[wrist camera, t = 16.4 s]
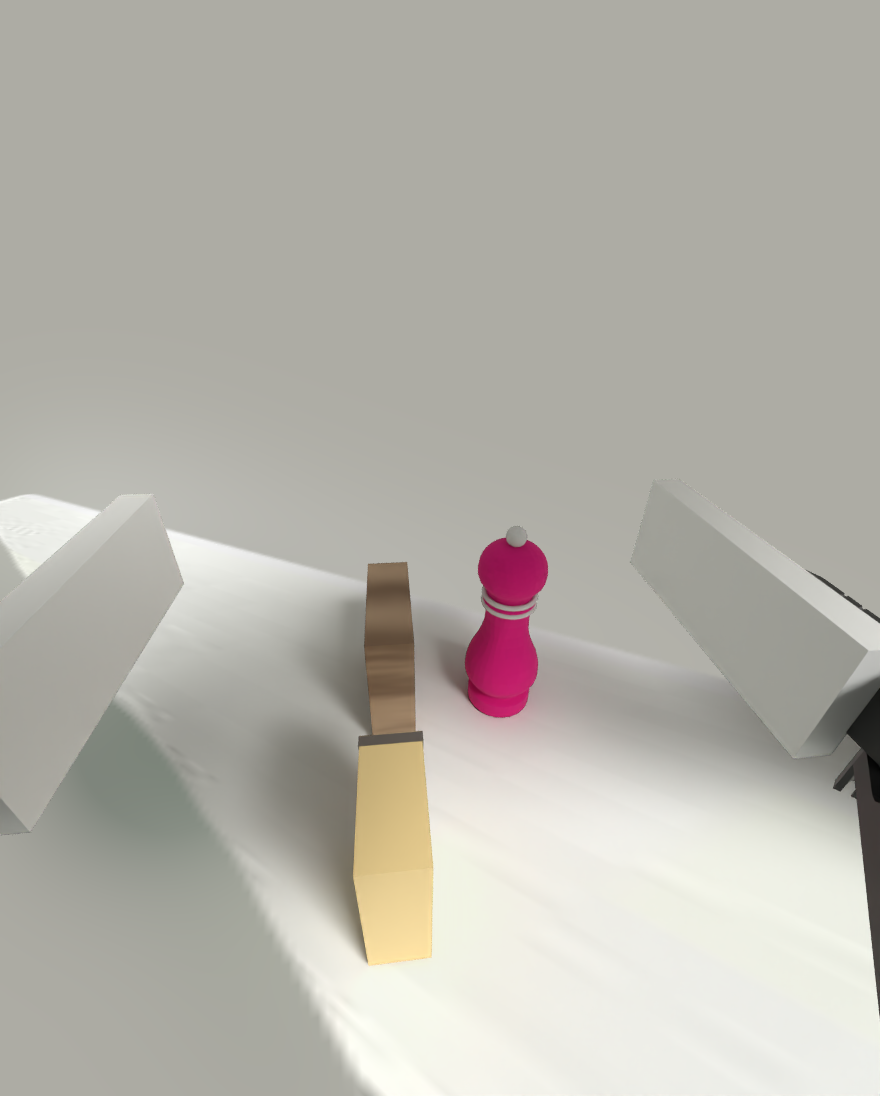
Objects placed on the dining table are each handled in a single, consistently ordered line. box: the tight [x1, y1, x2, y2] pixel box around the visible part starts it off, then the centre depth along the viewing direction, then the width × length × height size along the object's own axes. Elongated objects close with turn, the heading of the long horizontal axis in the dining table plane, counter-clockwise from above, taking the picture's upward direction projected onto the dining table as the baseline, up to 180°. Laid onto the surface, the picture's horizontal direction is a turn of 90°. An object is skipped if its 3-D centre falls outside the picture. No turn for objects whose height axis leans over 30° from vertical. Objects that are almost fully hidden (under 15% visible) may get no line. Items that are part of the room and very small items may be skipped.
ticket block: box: [364, 562, 415, 735], centre depth 45 cm, size 12×4×12 cm, turn 6°
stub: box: [353, 731, 433, 966], centre depth 29 cm, size 8×4×12 cm, turn 6°
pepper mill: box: [465, 526, 548, 718], centre depth 43 cm, size 7×7×20 cm
